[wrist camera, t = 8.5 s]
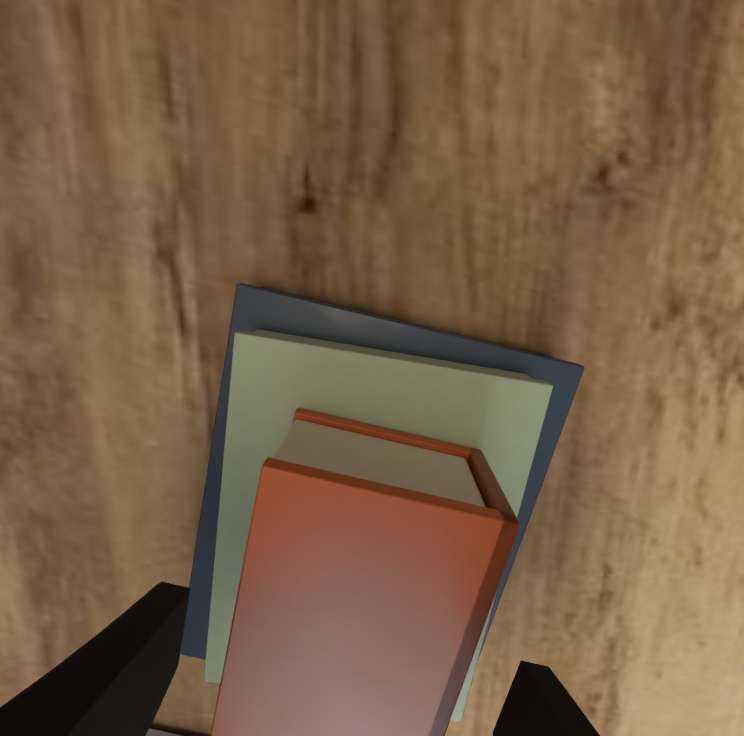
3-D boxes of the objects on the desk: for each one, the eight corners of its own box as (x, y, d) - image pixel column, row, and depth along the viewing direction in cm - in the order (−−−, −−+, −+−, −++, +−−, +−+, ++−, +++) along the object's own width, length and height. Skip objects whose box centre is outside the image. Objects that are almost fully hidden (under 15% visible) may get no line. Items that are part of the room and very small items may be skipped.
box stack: (450, 664, 17) (466, 765, 14) (201, 610, 17) (154, 698, 14) (558, 353, 14) (614, 381, 11) (257, 281, 14) (214, 285, 11)
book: (406, 682, 13) (414, 822, 10) (248, 648, 13) (201, 777, 10) (481, 449, 11) (522, 524, 8) (297, 406, 11) (261, 465, 8)
